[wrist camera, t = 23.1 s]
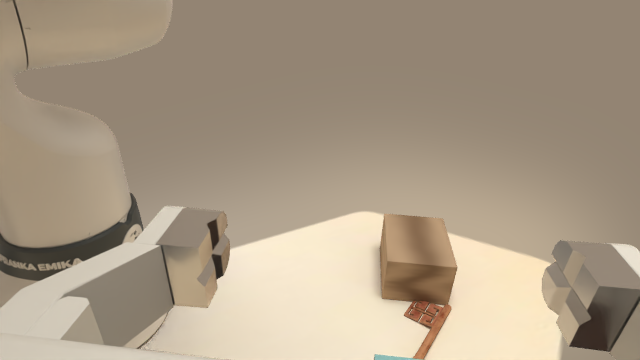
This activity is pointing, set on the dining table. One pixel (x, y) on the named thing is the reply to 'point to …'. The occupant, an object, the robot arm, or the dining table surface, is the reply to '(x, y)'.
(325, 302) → the dining table surface
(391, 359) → the tall teal pillar
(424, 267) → the block
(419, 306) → the key
